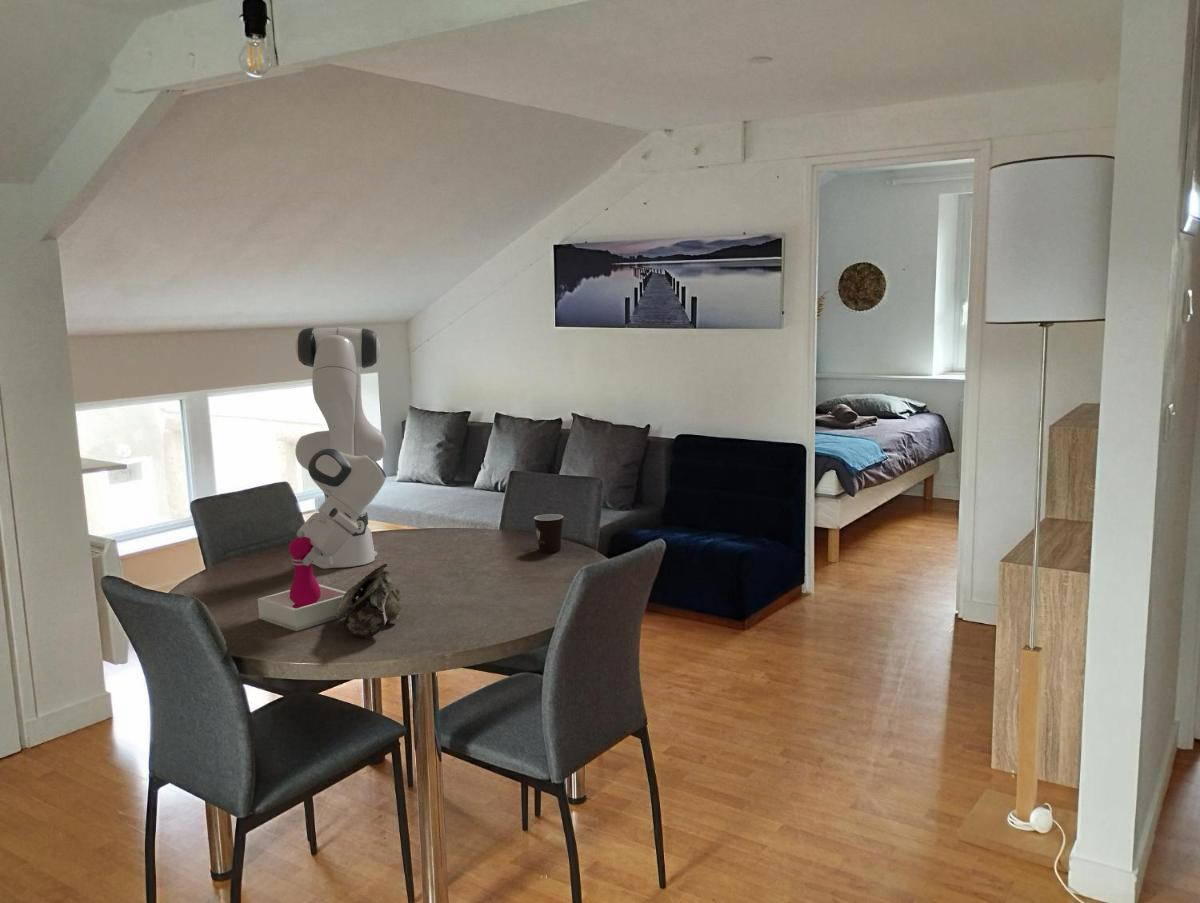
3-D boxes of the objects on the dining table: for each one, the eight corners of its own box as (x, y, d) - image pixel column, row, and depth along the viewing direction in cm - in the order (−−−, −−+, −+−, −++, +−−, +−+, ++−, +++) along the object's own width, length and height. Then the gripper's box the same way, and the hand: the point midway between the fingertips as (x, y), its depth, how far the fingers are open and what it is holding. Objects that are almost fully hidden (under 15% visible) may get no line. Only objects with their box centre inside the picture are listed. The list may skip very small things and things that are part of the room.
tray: (259, 618, 242) (257, 598, 241) (316, 602, 253) (315, 583, 253) (296, 631, 231) (294, 610, 230) (354, 613, 243) (352, 593, 242)
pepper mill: (313, 616, 238) (307, 534, 235) (285, 615, 239) (278, 534, 236) (327, 607, 245) (321, 527, 242) (300, 606, 246) (294, 527, 243)
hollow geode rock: (364, 666, 220) (408, 618, 218) (318, 630, 218) (363, 580, 216) (387, 622, 247) (426, 578, 246) (347, 589, 246) (387, 545, 244)
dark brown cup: (563, 553, 294) (562, 520, 292) (534, 554, 294) (533, 520, 293) (565, 543, 306) (564, 511, 304) (537, 544, 306) (536, 512, 304)
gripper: (313, 501, 251) (277, 545, 247) (340, 514, 234) (302, 562, 230) (332, 516, 254) (297, 559, 250) (360, 530, 237) (323, 577, 233)
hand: (299, 561), depth 240 cm, fingers closed on pepper mill, 5 cm apart
